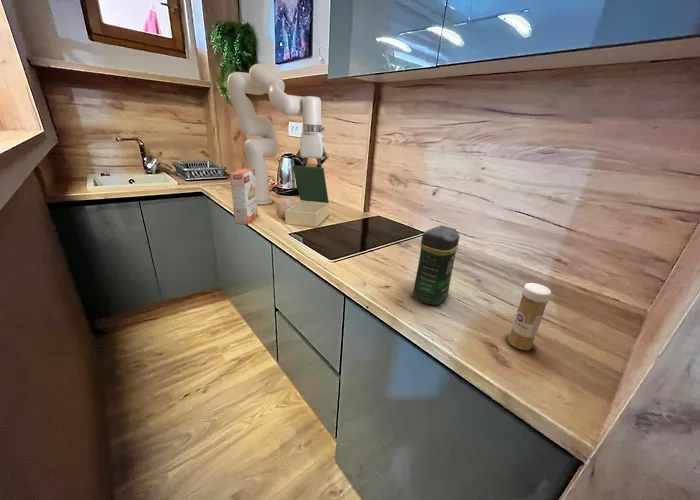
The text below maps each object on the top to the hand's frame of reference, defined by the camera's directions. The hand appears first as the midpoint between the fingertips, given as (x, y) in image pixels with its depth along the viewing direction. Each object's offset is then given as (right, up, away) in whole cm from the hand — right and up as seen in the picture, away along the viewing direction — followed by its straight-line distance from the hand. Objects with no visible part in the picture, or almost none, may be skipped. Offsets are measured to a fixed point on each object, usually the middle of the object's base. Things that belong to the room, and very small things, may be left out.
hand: (312, 173), depth 133 cm
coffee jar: (+38, -46, -54) cm, 80 cm away
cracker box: (-28, -21, -2) cm, 35 cm away
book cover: (-1, -5, 0) cm, 5 cm away
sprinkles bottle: (+52, -54, -70) cm, 102 cm away
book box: (-2, -20, +2) cm, 20 cm away
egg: (-13, -20, +2) cm, 24 cm away
